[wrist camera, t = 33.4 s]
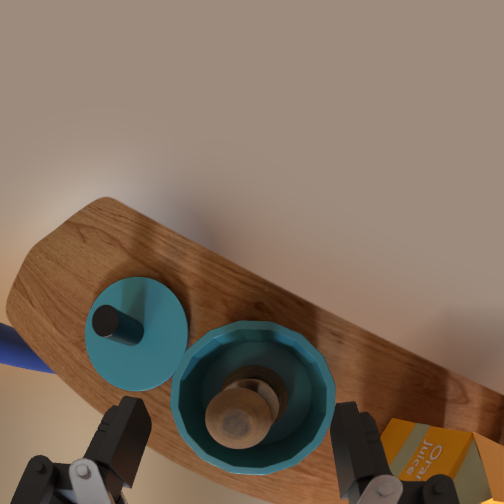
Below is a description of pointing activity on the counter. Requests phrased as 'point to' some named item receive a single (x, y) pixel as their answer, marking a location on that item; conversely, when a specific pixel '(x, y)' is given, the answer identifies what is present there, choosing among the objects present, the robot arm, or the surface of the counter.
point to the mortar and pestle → (246, 407)
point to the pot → (261, 354)
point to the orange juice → (446, 459)
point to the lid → (136, 333)
